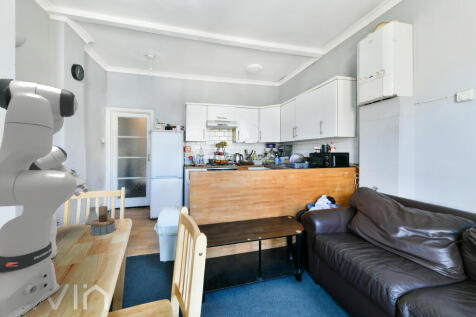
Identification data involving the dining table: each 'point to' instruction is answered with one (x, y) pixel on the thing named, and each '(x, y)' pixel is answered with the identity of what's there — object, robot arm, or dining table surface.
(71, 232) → the dining table surface
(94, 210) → the flask
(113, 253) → the dining table surface
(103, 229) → the slate-blue bowl
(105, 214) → the walnut lid
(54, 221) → the water bottle
